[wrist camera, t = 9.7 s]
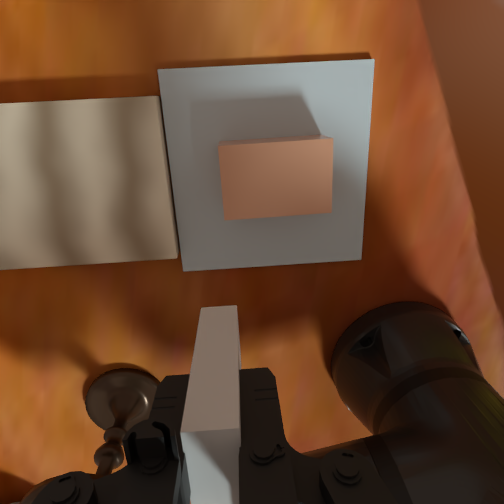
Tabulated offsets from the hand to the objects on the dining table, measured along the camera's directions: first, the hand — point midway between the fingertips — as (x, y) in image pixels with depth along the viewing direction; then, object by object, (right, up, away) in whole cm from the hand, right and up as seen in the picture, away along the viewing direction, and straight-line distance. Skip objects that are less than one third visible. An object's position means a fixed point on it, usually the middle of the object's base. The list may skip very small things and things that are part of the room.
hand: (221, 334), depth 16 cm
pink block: (+3, +11, +18) cm, 21 cm away
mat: (+3, +11, +18) cm, 22 cm away
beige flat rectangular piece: (-15, +10, +18) cm, 25 cm away
